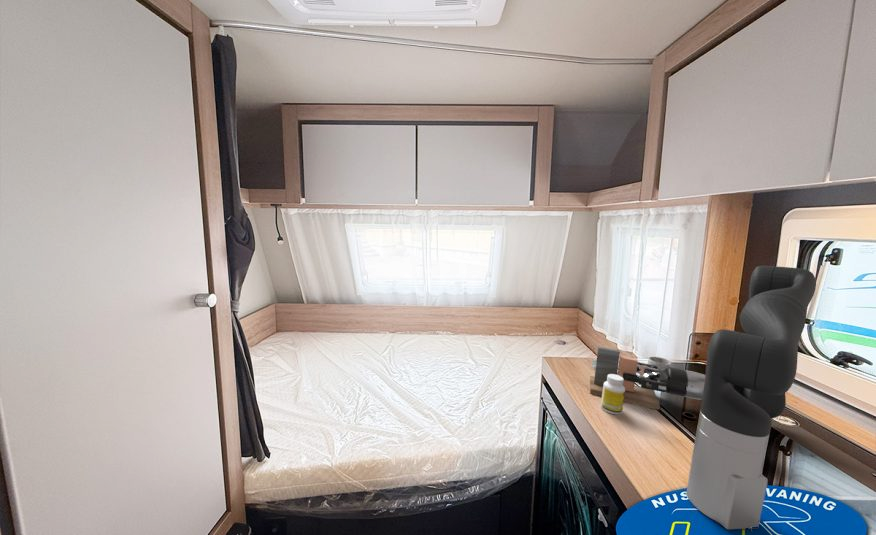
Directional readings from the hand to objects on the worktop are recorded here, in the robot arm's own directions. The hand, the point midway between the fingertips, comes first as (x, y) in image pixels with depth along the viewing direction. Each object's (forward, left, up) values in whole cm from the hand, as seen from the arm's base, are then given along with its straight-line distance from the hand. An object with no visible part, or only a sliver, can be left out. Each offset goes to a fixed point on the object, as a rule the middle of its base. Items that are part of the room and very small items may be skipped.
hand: (621, 370), depth 99 cm
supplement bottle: (-9, +8, -8) cm, 15 cm away
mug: (+12, -22, -8) cm, 26 cm away
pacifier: (+16, -5, -8) cm, 18 cm away
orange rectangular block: (-1, -1, -6) cm, 6 cm away
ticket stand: (0, -1, -8) cm, 8 cm away
